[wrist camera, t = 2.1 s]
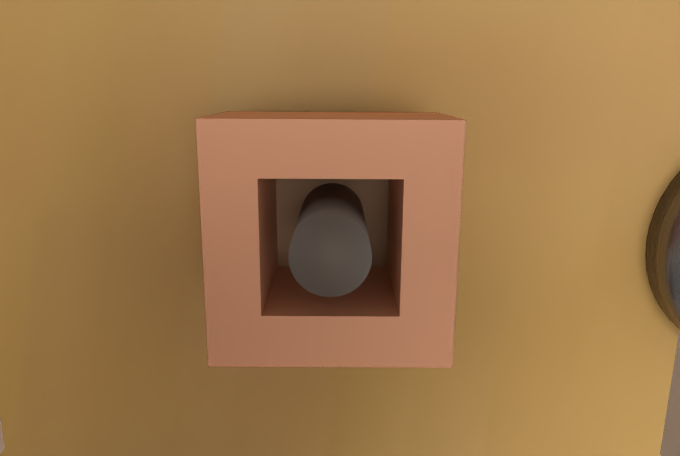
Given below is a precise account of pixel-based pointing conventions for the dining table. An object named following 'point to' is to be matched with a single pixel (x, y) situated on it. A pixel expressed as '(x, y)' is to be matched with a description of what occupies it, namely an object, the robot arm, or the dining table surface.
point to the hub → (666, 252)
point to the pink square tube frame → (278, 282)
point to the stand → (331, 231)
